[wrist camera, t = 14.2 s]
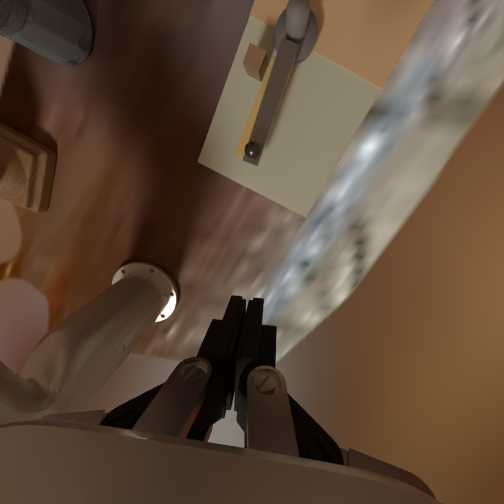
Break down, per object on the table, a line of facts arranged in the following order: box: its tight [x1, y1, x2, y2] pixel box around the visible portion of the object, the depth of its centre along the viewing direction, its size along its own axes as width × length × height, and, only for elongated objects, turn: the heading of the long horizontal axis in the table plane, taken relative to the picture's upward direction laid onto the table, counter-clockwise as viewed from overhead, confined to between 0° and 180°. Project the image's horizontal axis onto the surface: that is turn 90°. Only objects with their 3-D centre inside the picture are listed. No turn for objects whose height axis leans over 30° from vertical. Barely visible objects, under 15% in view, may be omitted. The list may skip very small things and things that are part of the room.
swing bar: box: [243, 38, 299, 166], centre depth 28 cm, size 13×2×4 cm, turn 160°
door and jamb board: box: [198, 0, 434, 217], centre depth 27 cm, size 34×18×8 cm, turn 154°
